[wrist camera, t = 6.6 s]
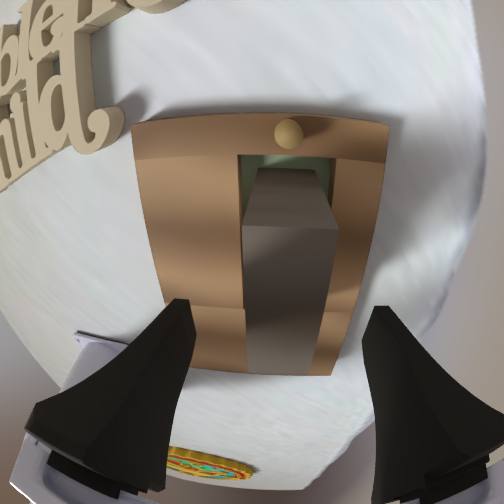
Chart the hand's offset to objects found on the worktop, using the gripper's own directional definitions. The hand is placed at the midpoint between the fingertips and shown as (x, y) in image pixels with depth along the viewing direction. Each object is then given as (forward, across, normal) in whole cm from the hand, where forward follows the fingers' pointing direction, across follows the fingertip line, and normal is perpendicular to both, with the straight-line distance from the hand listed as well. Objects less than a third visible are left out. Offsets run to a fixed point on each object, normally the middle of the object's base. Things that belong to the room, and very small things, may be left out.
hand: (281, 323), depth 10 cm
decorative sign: (+8, +20, -12) cm, 24 cm away
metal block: (+7, 0, 0) cm, 7 cm away
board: (+7, +1, +3) cm, 8 cm away
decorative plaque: (+8, +18, +67) cm, 70 cm away
